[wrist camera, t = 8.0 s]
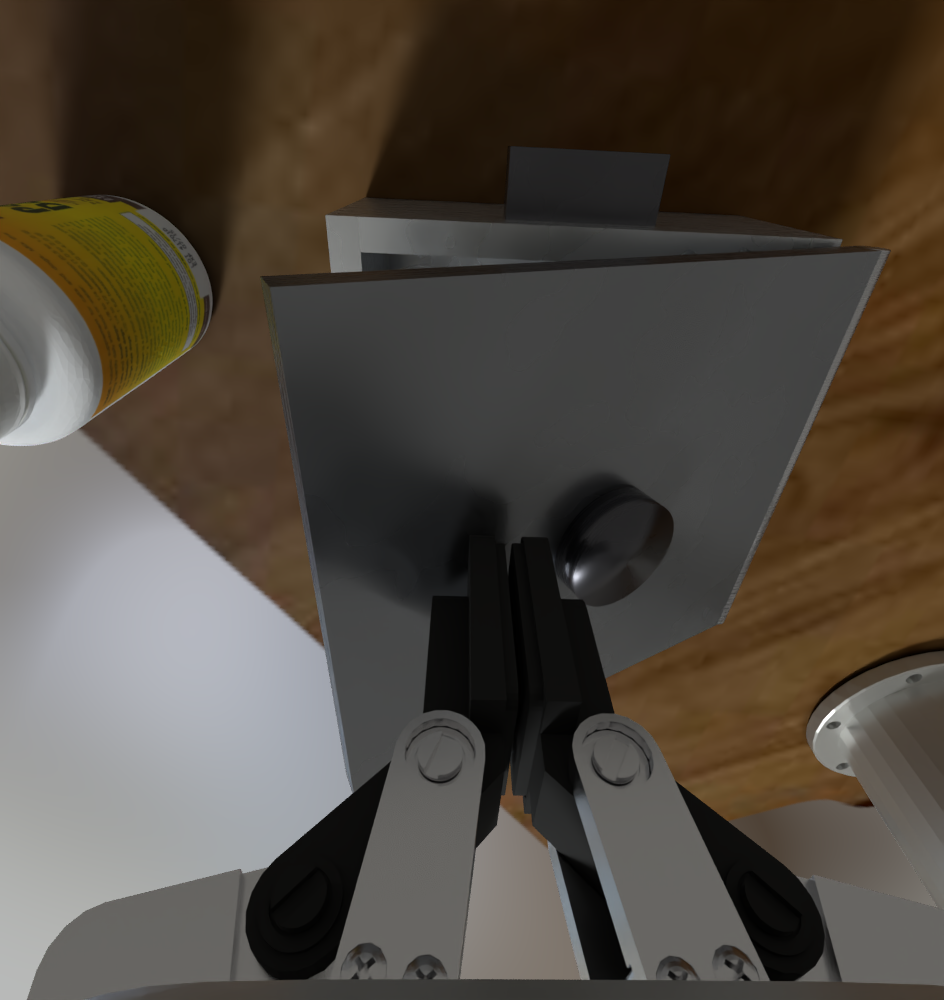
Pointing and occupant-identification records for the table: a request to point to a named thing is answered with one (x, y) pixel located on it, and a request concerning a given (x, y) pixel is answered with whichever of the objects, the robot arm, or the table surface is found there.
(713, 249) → the cooker pot
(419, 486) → the lid
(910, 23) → the table surface
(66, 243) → the supplement bottle
